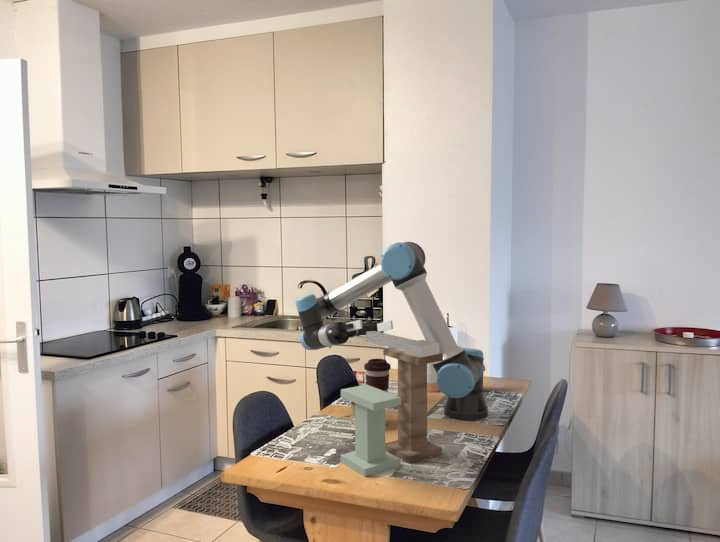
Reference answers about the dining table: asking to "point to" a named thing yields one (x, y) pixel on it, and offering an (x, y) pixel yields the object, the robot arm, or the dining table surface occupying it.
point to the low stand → (370, 430)
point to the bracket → (404, 344)
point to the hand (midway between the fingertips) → (377, 324)
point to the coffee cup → (377, 373)
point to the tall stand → (412, 408)
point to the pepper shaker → (431, 379)
